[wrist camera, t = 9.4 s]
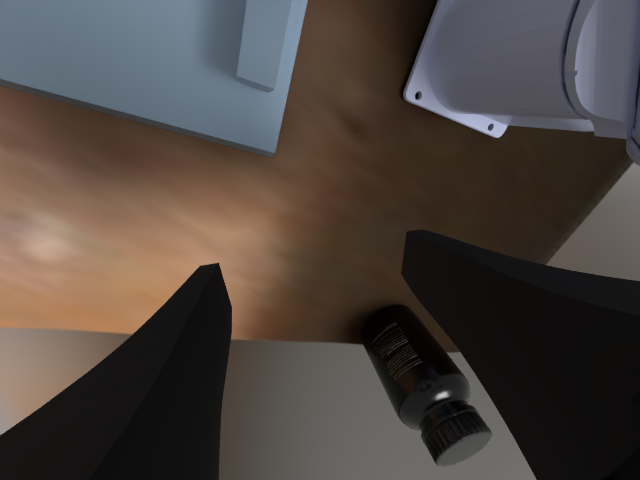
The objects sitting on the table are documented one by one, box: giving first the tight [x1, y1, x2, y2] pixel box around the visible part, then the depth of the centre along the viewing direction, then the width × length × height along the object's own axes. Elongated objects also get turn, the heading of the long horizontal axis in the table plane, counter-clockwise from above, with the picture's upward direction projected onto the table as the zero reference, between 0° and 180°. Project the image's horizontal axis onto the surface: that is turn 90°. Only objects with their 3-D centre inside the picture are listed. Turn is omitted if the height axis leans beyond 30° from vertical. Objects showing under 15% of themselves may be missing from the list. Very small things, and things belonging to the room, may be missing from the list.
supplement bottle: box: [362, 307, 492, 467], centre depth 24 cm, size 7×7×12 cm
